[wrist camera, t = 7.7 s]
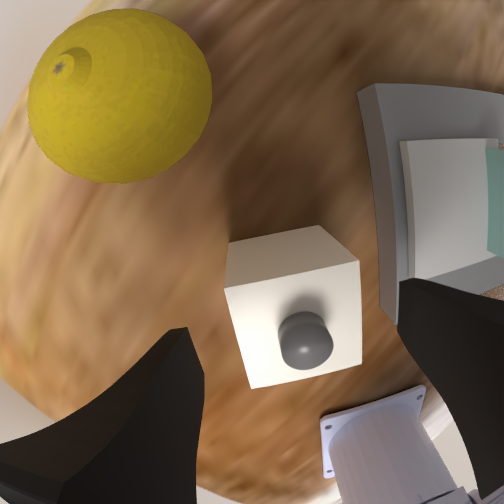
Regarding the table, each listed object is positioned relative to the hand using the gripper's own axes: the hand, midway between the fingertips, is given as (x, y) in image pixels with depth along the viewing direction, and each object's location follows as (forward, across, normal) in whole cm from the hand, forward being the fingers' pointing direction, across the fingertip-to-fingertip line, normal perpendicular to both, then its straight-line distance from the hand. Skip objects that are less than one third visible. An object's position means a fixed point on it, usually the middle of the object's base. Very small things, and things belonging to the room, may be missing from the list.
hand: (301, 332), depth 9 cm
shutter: (+3, -9, -2) cm, 9 cm away
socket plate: (+5, -12, -2) cm, 14 cm away
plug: (+5, 0, 0) cm, 5 cm away
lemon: (+5, +4, -8) cm, 11 cm away
